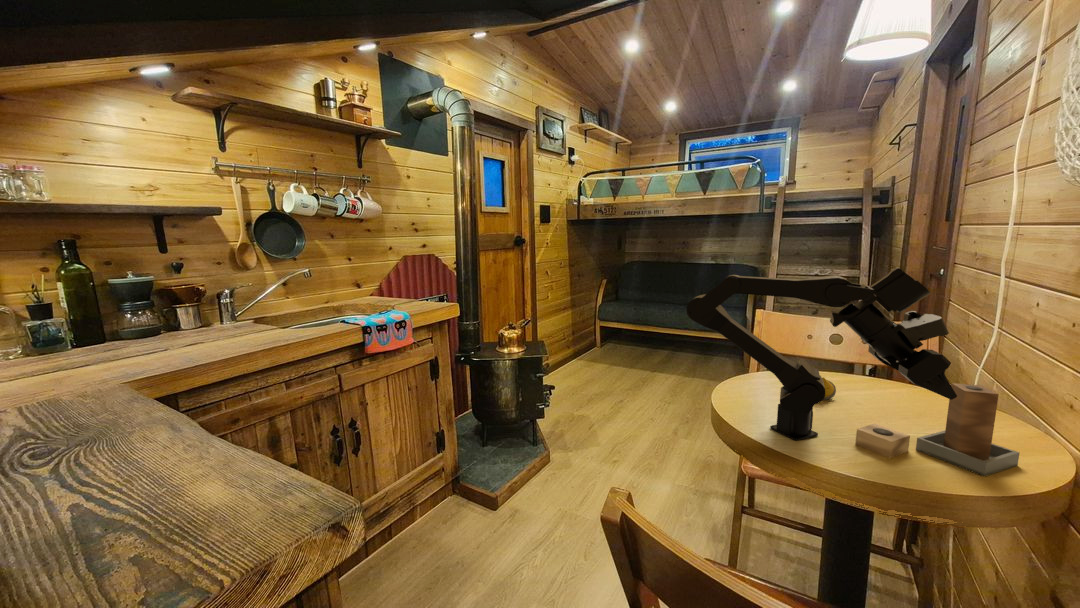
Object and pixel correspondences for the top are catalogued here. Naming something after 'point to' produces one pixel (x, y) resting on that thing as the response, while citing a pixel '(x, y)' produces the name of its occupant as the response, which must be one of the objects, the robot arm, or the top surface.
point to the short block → (882, 440)
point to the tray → (996, 462)
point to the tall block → (971, 420)
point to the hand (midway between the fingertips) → (940, 389)
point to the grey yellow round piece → (829, 389)
